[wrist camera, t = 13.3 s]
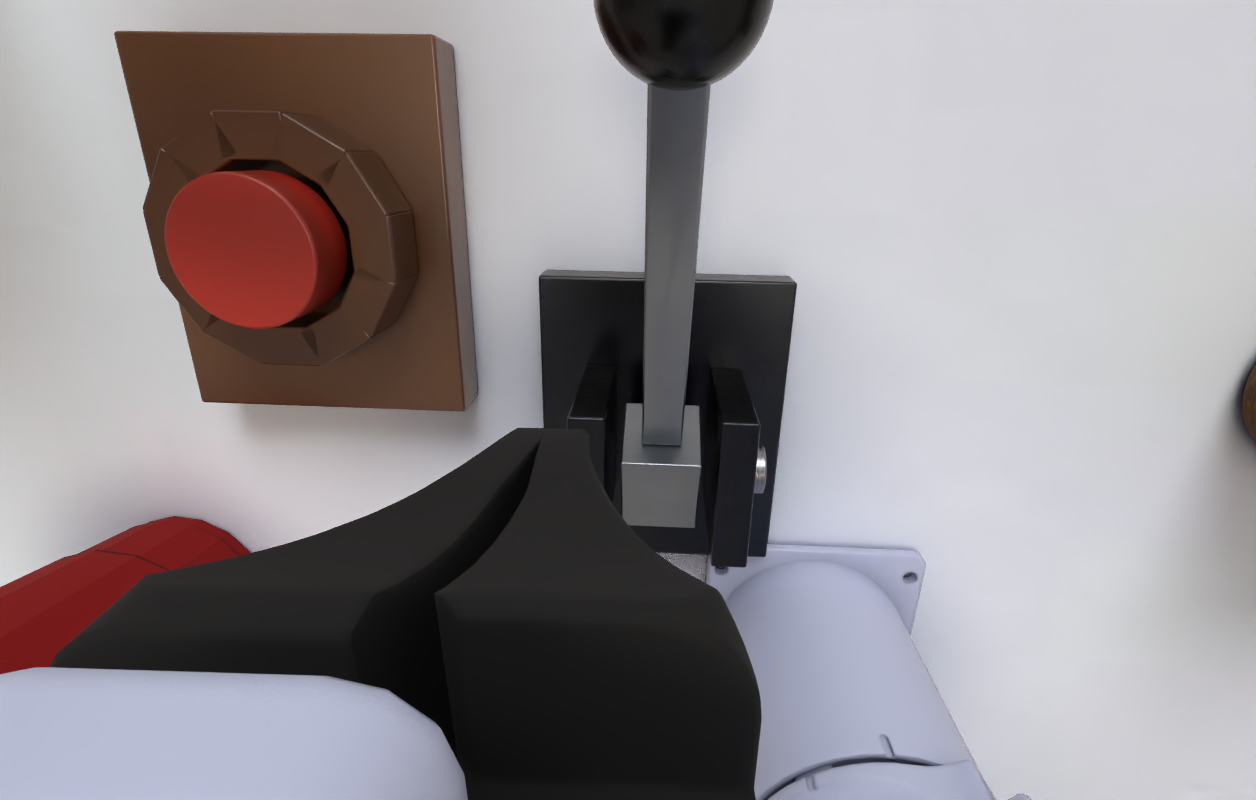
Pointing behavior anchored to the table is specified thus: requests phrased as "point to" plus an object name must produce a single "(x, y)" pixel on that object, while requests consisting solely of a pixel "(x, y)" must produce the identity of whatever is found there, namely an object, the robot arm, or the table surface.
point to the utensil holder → (1250, 404)
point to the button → (255, 247)
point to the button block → (351, 186)
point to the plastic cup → (97, 585)
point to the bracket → (716, 381)
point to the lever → (672, 229)
